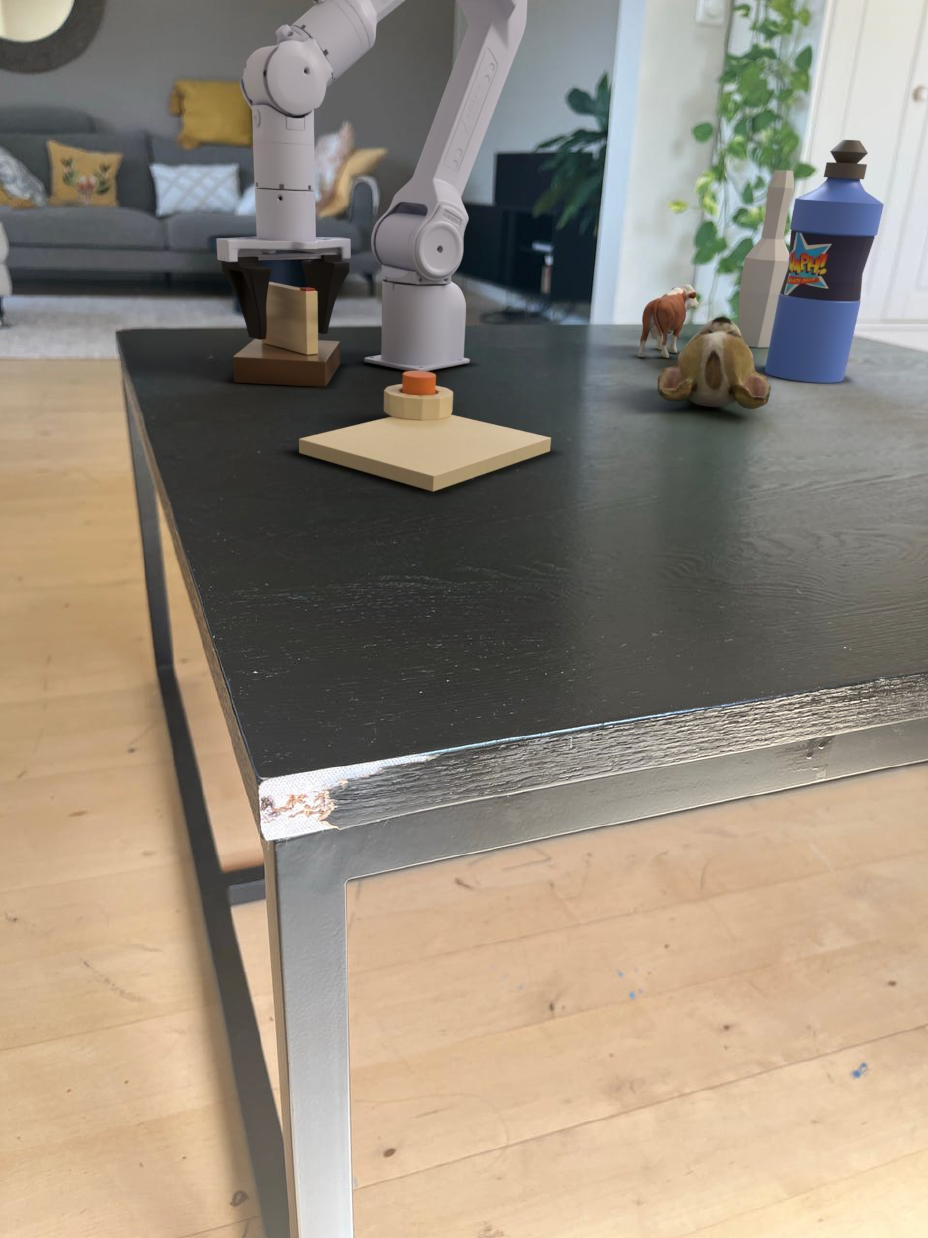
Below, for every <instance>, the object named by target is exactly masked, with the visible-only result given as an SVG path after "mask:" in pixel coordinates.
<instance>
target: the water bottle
mask: <svg viewBox="0 0 928 1238" xmlns="http://www.w3.org/2000/svg"><path fill="white" fill-rule="evenodd" d="M829 152H830V155H831V156H832V157H833V159H834V161H835V162H834V161H833V162H829V161H828V162H827V161H826V163H825V168H824V173H823V178H826V180H825V181H824V182H823V183H821V185H820V186H818V187H817V188H815V189H813V190H811V191H809V192H807V193H805V194H803V195H800V196H798V197H796V198H795V199H794V204H793V209H792V215H791V220H790V225H789V229H790V237H789V249H788V252H789V263H788V270H787V273H786V276H785V279H784V282H783V285H782V288H781V291H780V293H779V298H778V303H777V308H776V313H775V318H774V324H773V329H772V334H771V340H770V345H769V347H768V351H767V355H766V361H765V367H764V373H765V374H767V375H769V376H773V377H776V378H780V379H784V380H790V381H796V382H805V383H815V384H816V383H818V384H831V383H832V384H833V383H840V382H843V381H844V380H845V375H846V370H847V366H848V362H849V358H850V352H851V349H852V343H853V339H854V335H855V331H856V327H857V326H856V325H857V320H858V316H859V311H860V307H861V301H862V300H861V297H862V286H863V285H862V284H863V274H864V271H865V268H866V266H867V265H866V264H867V262H868V259H869V256H870V253H871V250H872V246H873V244H874V242H875V237H877V235H878V232H879V228H880V225H881V224H880V223H881V220H882V219H881V218H882V215H883V210H884V206H885V204H884V203H883V202H882V201H880V200H879V199H877V198H876V197H874V196H873V195H872V194H871V193H868V191H866V190H865V188H864V186H863V185H862V183H861V180H865V177H866V171H867V167H868V164H866V163H860V162H861V160H863V159H864V158H865V157H866V156H867V155H868V154H869V152H868V151H867V149H866V148H865V146H864V145H863V143H862V141H861V140H857V139H842V140H841V141H840V142H839V143H838V144H836V145H835V146H834V147H833V148H832V149H831V150H830V151H829Z"/></svg>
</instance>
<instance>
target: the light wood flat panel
mask: <svg viewBox="0 0 928 1238" xmlns="http://www.w3.org/2000/svg"><path fill="white" fill-rule="evenodd" d="M266 313H267V333H266V339H263V340H262V343H266V344H269V345H273V346H277V347H280V348H284V349H288V350H291V351H295V352H299V353H302V354H306V355H310V354H318V340H319V333H318V304H317V291H315V288H310V287H307V286H306V287H299V286H292V285H288V284H284V283H278V282H273V281H269V286H268V293H267V303H266Z"/></svg>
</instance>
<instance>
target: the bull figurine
mask: <svg viewBox="0 0 928 1238" xmlns="http://www.w3.org/2000/svg"><path fill="white" fill-rule="evenodd" d="M697 295H698V294H697V292H696V290H695V289H694V288H693V286H692V285H691V284H687V283H686V284H684V285H682V286H681V287H672V288H671V290H670V291H669V292H666V293H665V294H663V295H662V296H661V297H657V298H656V299H653V300H651V301H649V302H648V303H647V304H646V305H645V307H644V308H643V311H642V316H641V322H642V323H641V324H642V330H641V331H642V332H641V336H640V338H639V339H640V341H639V342H640V343H639V344H640V345H639V349H638V353H637V357H638V358H646V351H645V349H646V348H645V346H646V343H647V341H648V338H649V335H651V339H653V340H656V346H655V347H656V348H655V349H656V350H658V351H660V356H661V357H662V358H664V359H665V358H666V359H669V358H670V354H669V352H670V353H672V354H678V349H677V341H678V340H679V338H680V334H681V331H682V329H683V327H684V323H685V321H686V317H687V312H688V311H689V310H690V309H693V310H694V309H698V308H699V305H700V303H699V301H698V300H697ZM671 334H672V335H671ZM668 335H671V342H670V345H669V347H668V349H667V344H668V343H667V342H668ZM668 350H669V352H668Z"/></svg>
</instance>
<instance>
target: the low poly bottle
mask: <svg viewBox="0 0 928 1238" xmlns="http://www.w3.org/2000/svg"><path fill="white" fill-rule="evenodd" d="M794 191H795V179H794V170H783V169H775V170H774V172H773V174H772V177H771V179H770V182H769V184H768V186H767V194H766V204H765V206H766V207H765V213H764V221H763V226H762V231H761V236H760V237H761V238H760V239H758V241H757V242H756V243H755V244H754V246H753V247H752V248H751V249H750V251H749V252H748V253H747V254H746V255H745V256H744V262H743V266H742V272H741V280H740V285H739V293H738V311H737V327H738V328H739V330H740V333H741V336H742V338H743V339H744V340H745V342H746V343H747V345H748V347H749V348H750V347H751V348H769V345H770V340H771V334H772V329H773V324H774V318H775V313H776V308H777V303H778V298H779V293H780V291H781V288H782V285H783V282H784V279H785V276H786V273H787V270H788V263H789V248H788V247H787V245H786V242H785V241H784V235H785V230H786V224H787V219H788V214H789V209H790V206H791V202H792V198H793V194H794Z"/></svg>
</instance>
